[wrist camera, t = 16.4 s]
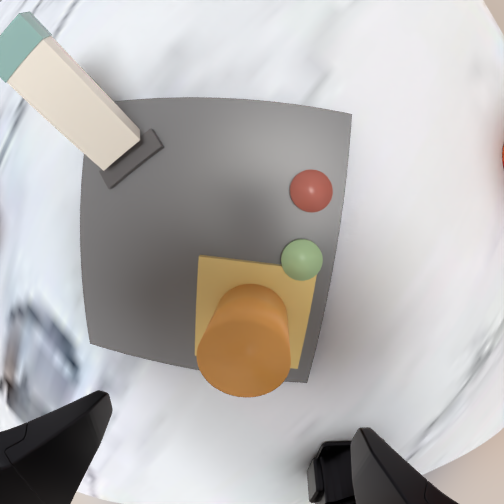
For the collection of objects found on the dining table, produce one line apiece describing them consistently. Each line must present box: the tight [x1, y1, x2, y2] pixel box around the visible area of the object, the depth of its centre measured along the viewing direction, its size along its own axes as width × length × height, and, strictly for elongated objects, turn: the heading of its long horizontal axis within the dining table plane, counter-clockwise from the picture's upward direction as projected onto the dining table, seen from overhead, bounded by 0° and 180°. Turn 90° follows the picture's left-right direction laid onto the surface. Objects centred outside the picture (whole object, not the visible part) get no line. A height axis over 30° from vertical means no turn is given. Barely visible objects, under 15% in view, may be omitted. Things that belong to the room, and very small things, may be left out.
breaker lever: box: [0, 12, 140, 171], centre depth 11 cm, size 2×3×11 cm
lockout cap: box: [196, 284, 291, 397], centre depth 15 cm, size 4×4×5 cm
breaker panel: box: [80, 97, 352, 383], centre depth 17 cm, size 17×18×1 cm
